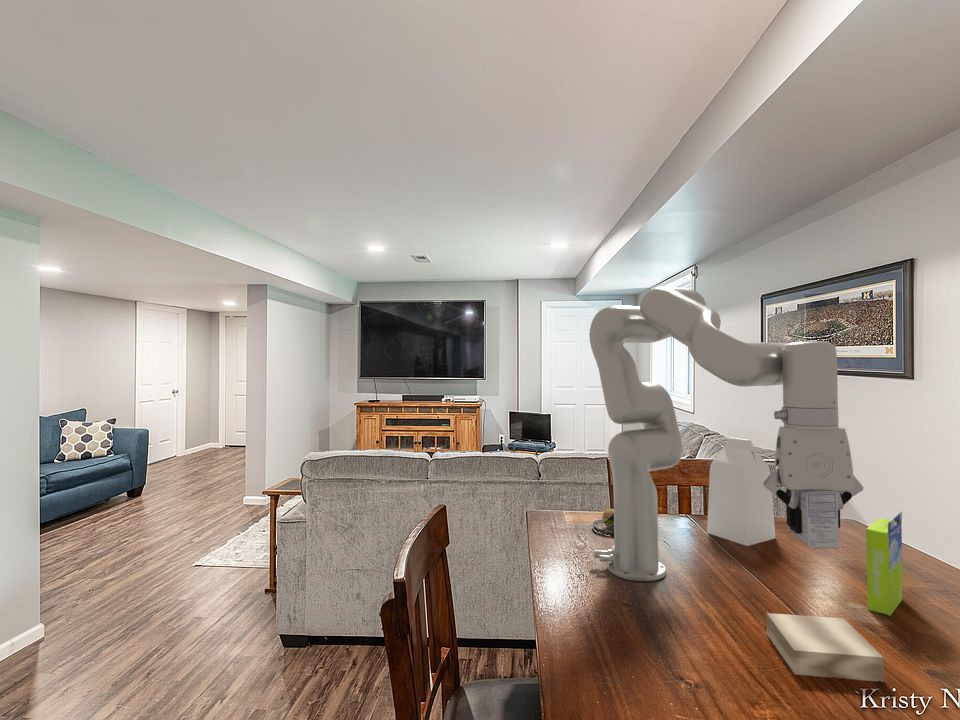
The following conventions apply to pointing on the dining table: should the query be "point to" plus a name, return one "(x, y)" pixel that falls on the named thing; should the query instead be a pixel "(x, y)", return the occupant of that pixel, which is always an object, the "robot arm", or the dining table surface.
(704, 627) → the dining table surface
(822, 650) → the maple block
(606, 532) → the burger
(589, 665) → the dining table surface
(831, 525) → the medicine box
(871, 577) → the box
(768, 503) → the milk
